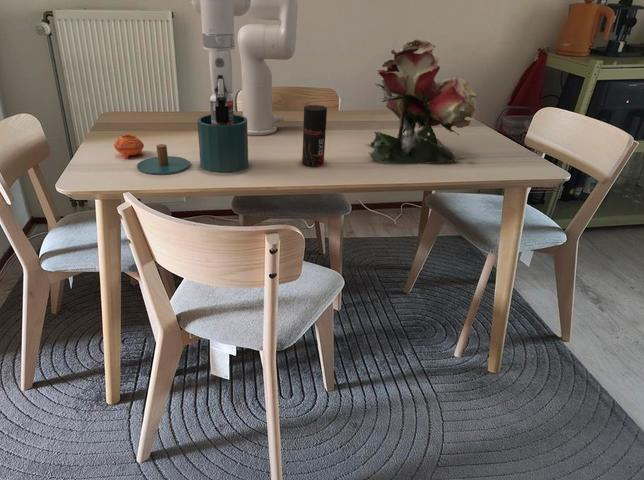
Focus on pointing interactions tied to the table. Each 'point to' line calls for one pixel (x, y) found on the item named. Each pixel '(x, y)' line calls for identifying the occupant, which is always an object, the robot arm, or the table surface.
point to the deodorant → (314, 135)
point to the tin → (223, 145)
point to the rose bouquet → (420, 106)
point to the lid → (163, 163)
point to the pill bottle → (213, 111)
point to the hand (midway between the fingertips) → (222, 118)
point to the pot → (128, 145)
